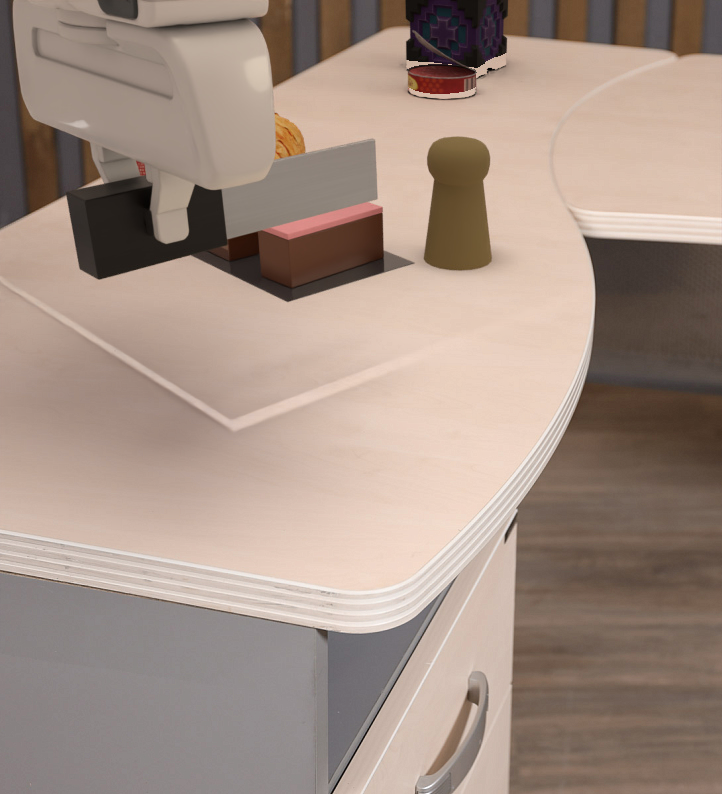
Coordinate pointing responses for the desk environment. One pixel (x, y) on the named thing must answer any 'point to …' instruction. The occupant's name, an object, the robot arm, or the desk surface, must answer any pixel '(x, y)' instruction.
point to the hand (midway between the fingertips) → (151, 230)
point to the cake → (245, 265)
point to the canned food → (440, 75)
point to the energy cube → (457, 30)
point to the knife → (217, 208)
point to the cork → (458, 205)
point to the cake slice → (322, 245)
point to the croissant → (287, 138)
